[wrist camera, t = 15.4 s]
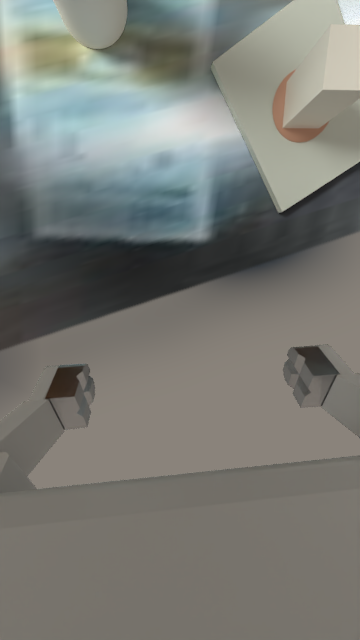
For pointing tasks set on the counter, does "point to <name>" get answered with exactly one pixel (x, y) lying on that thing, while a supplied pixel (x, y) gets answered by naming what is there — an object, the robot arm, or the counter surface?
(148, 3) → the counter surface
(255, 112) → the base plate
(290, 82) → the square block
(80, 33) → the cylindrical container
